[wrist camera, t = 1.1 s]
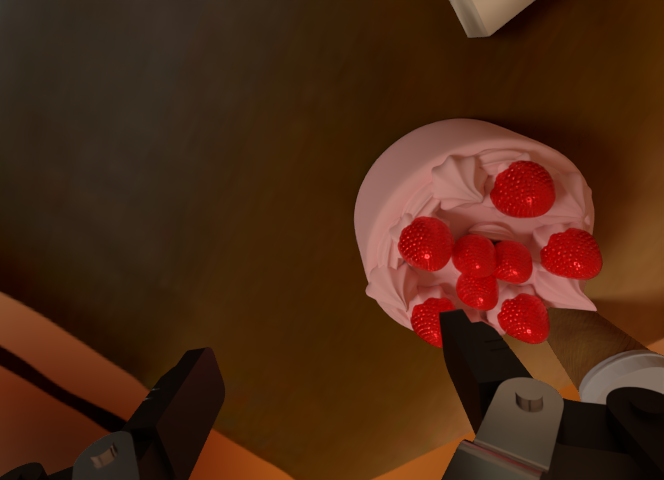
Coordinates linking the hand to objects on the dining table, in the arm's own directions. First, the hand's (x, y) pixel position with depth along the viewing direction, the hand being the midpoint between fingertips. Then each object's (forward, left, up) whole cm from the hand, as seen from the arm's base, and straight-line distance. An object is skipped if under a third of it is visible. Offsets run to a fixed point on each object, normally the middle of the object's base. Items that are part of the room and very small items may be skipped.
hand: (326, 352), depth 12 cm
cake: (+13, +7, -26) cm, 30 cm away
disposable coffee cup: (+37, +12, -26) cm, 47 cm away
